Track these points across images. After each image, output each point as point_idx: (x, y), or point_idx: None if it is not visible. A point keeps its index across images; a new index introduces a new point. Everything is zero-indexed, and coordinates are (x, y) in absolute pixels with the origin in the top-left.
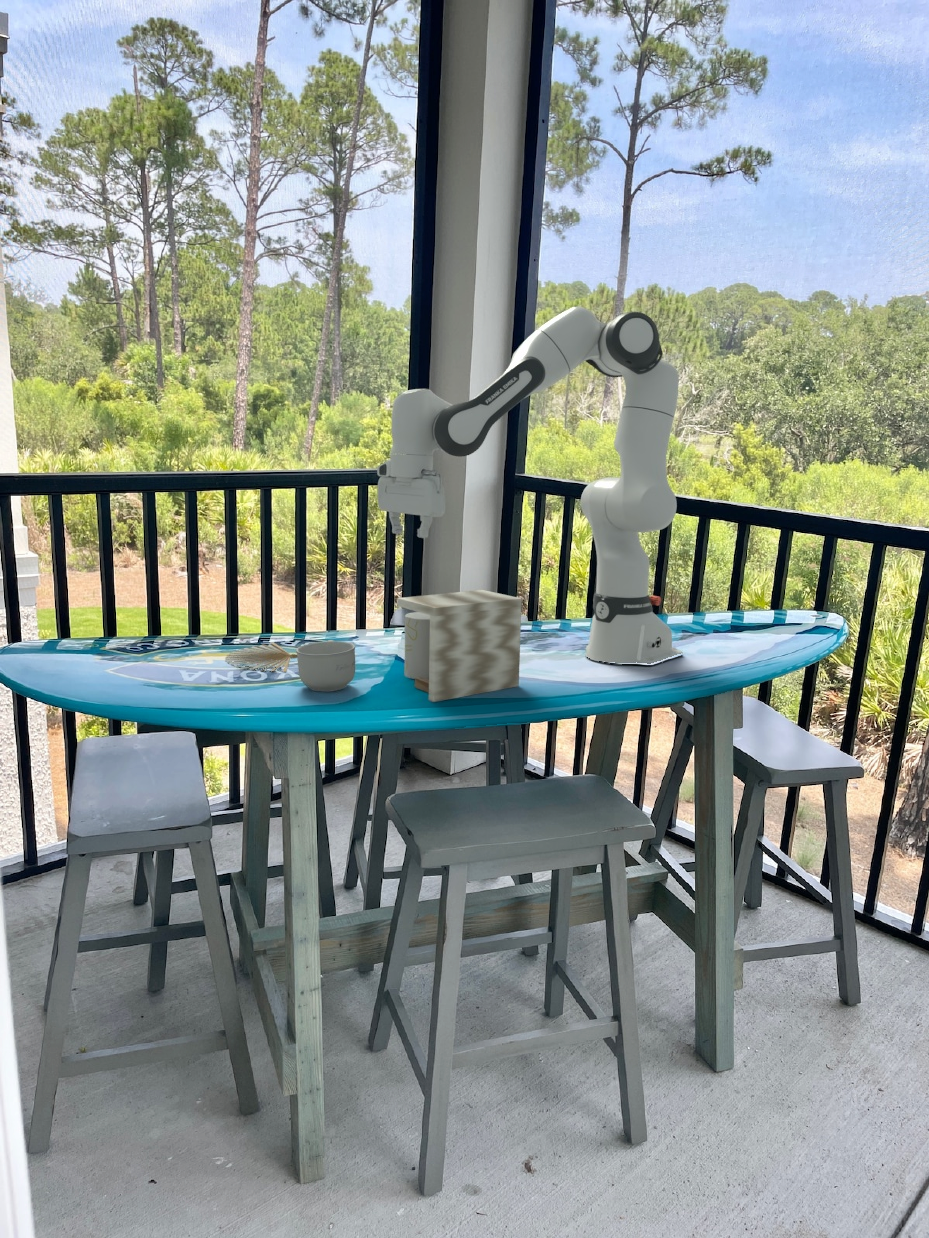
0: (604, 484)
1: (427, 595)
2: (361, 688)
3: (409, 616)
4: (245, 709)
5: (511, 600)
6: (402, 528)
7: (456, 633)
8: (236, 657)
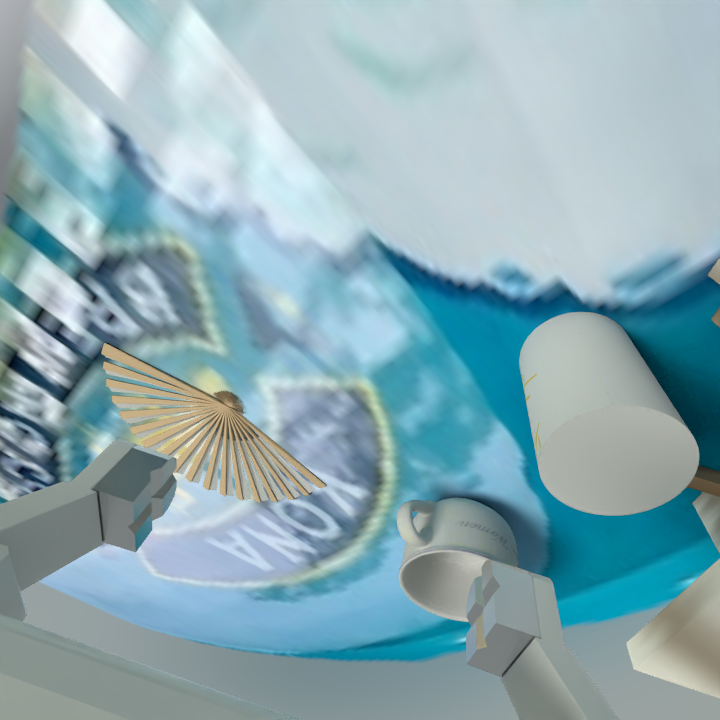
0: None
1: (710, 612)
2: (517, 499)
3: (573, 498)
4: (448, 624)
5: None
6: (148, 485)
7: None
8: (183, 462)
